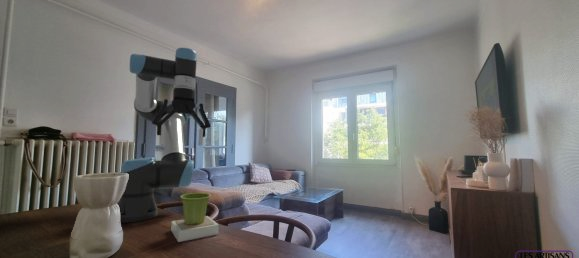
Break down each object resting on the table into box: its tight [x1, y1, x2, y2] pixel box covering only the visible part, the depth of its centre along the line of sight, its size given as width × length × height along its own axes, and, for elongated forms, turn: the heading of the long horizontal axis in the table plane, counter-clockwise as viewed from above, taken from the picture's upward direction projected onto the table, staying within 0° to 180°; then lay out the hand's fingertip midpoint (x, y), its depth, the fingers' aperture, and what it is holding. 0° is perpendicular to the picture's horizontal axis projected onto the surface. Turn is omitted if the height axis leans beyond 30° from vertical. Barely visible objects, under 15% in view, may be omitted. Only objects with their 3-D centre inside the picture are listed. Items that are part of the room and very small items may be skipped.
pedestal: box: [170, 215, 220, 243], centre depth 79 cm, size 12×12×3 cm
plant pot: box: [180, 192, 211, 225], centre depth 79 cm, size 9×9×9 cm
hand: (181, 145), depth 89 cm, fingers open, 13 cm apart
